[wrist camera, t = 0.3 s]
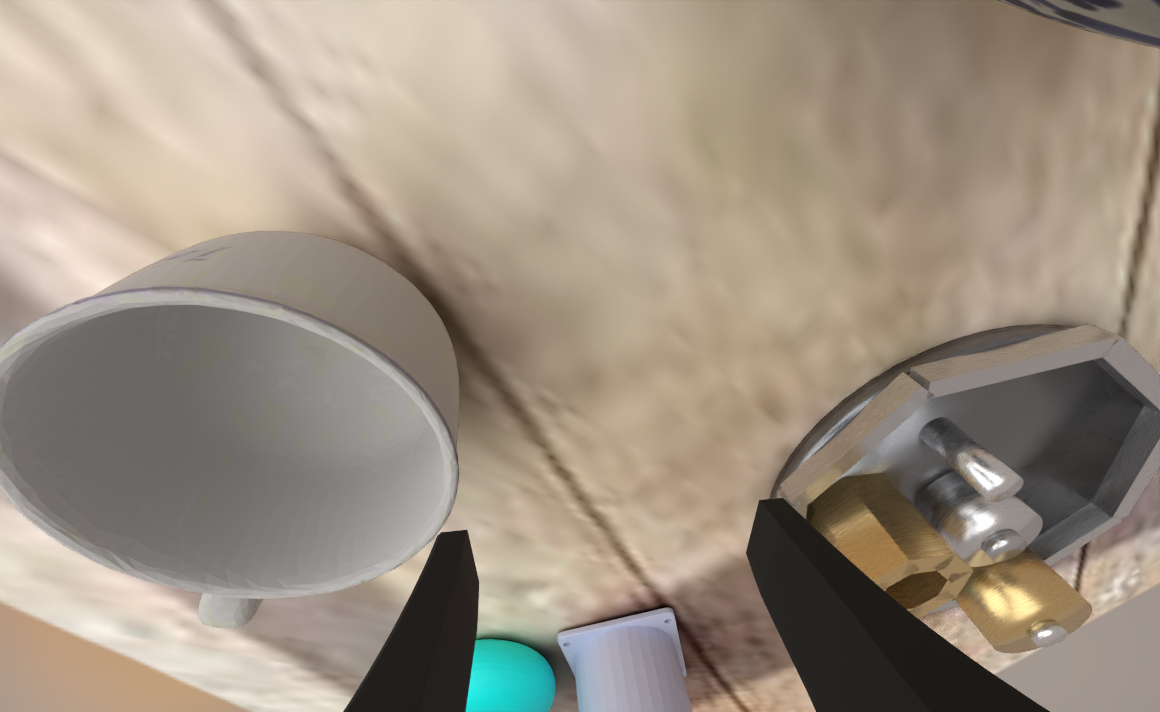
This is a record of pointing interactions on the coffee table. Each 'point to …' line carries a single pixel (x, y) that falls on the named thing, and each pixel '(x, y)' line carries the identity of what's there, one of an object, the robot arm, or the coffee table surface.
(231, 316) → the teacup
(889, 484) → the gear
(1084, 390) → the tray
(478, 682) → the donuts
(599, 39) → the coffee table surface
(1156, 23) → the decorative vase
